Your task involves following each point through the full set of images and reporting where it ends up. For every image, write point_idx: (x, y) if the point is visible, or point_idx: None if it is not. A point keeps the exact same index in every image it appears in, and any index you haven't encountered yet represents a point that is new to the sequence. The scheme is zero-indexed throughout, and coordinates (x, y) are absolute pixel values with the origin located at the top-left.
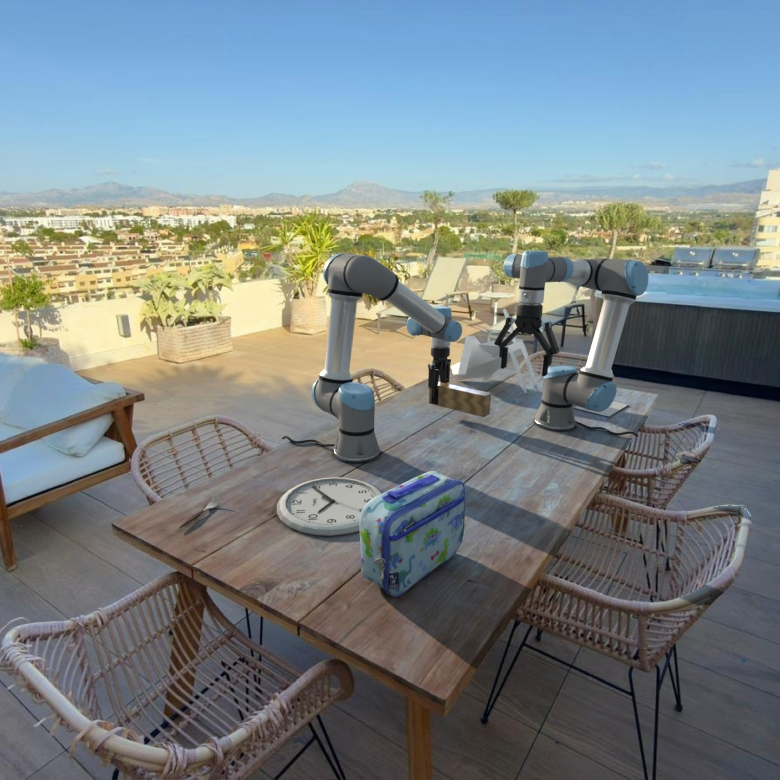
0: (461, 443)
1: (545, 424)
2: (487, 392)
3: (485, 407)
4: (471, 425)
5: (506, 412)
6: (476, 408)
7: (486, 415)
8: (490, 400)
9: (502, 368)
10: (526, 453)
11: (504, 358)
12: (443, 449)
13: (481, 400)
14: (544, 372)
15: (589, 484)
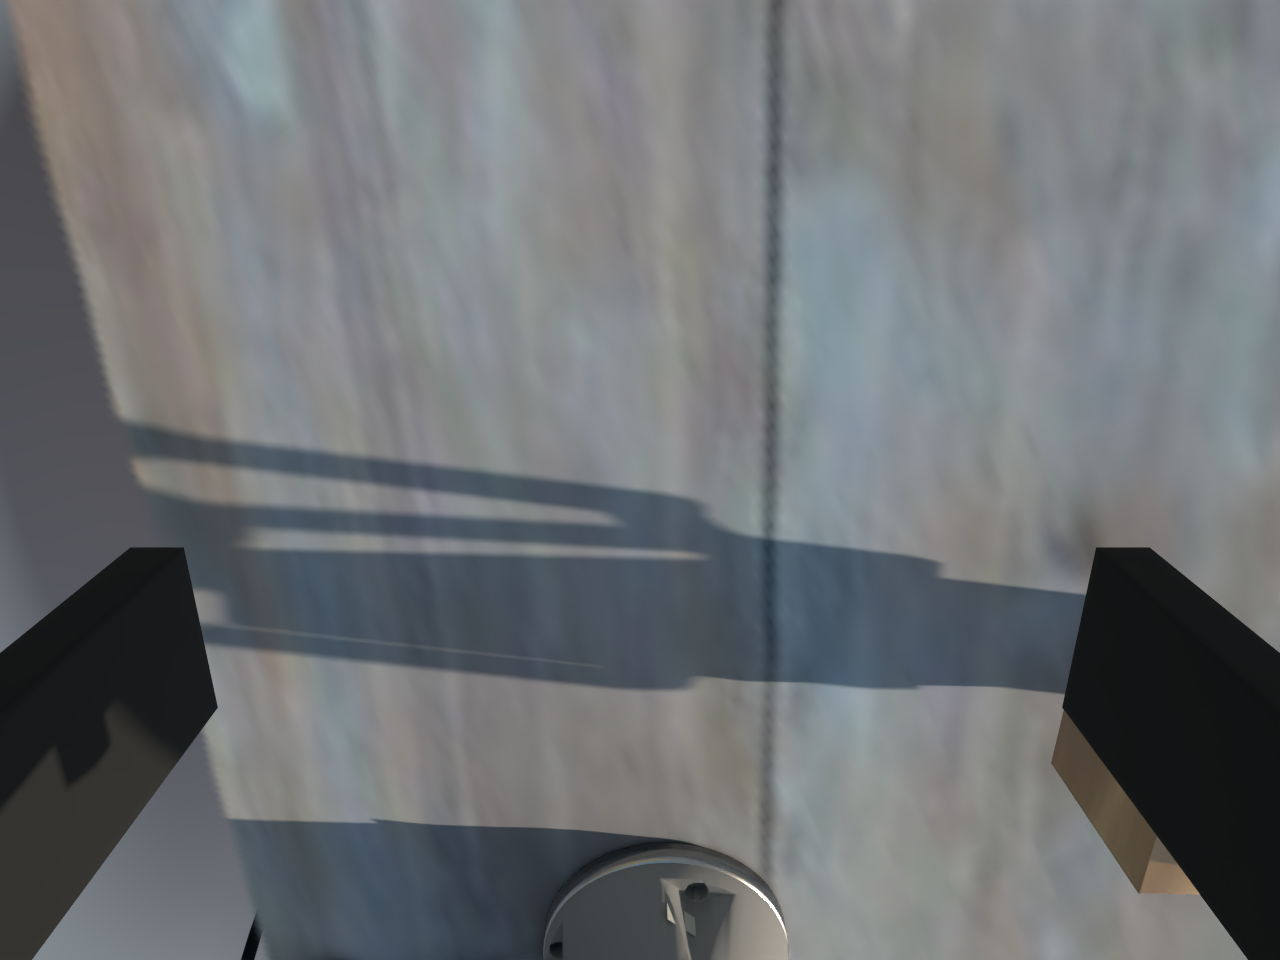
0: (1077, 307)
1: (683, 866)
2: (1174, 892)
3: None
4: None
5: (985, 941)
6: None
7: (1062, 723)
8: (1105, 840)
9: (1108, 548)
10: (621, 437)
11: (1232, 726)
12: (1164, 111)
13: None
14: (81, 589)
15: (99, 241)
